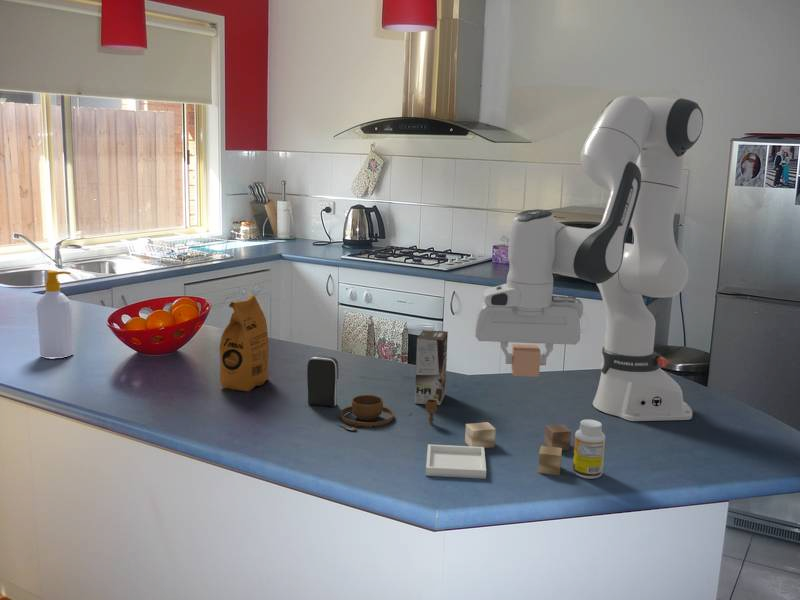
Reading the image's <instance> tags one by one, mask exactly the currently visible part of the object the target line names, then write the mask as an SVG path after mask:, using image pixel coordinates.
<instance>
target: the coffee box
mask: <svg viewBox="0 0 800 600" xmlns="http://www.w3.org/2000/svg"><path fill="white" fill-rule="evenodd" d="M448 333H449V331H445V330H444V331H443V330H424V329H423V330H422V331H421V333H420V334H418V337H417V338H416V356H415V358H416V360H415V385H414V404H419V405H420V404H421V405H426V401H427V400H429V399H434V400H437V405H439V406H441V404H442V402H443V400H444V398H445V395H446V388H447V386H446V385H447V361H448V336H449V335H448Z"/></svg>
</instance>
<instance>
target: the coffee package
mask: <svg viewBox="0 0 800 600" xmlns="http://www.w3.org/2000/svg"><path fill="white" fill-rule="evenodd" d="M228 307H229V308H231V309H232V310H233V312H232V314H231V315H230V319H229V323H228V324H227V325H226V327H225V329H224V330H223V333H222V334H221V338H220V342H219V359H220V367H219V368H220V372H219V373H220V376H219V377H220V379H219V383H220V385H221V386H222V388H223V389H230V390H233V391H235V390H236V391H240V392H250V391H251V390H253V389H254V388H255V387H257V386H259V387H260V386H263V385H264V384H265V382H266V381H267V380H269V332H268V326H267V324H268V323H267V319H266V317H265V314H264V312H263V310H262V308H261V306H260V304H259V302H258V300H257V297H256V296H255V294H250V295H248V298H247V299H246V300H239V301H238V300H237V301H231V302H230V303H229V305H228Z"/></svg>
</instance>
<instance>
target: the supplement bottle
mask: <svg viewBox="0 0 800 600" xmlns="http://www.w3.org/2000/svg"><path fill="white" fill-rule="evenodd" d="M579 422H580V425H579V429H577V430H576V431H575V435H574V447H573V460H572V461H573V463H572V471H573V473H574V474H575V475H576V476H578V477H580V478H583V479H589V480H590V479H592V480H593V479H599V478H600V477H602V475H603V472H604V470H603V469H604V460H605V459H604V458H605V448H606V447H605V446H606V435H605V433H604V432H603V431H602V430H603V428H602V427H603V424H602V422H600V421H598V420H595V419H582V420H581V421H579Z"/></svg>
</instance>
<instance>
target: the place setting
mask: <svg viewBox="0 0 800 600" xmlns="http://www.w3.org/2000/svg"><path fill="white" fill-rule="evenodd" d="M425 410H426V413H428V414H429V417H428V425H429V424H433V425H434V423H433V422H434V421H435V420H434V414H435V413H436V412H437V411H438V406H437V400H434V399H429V400H427V401H426V404H425ZM351 411H353V412H351ZM382 411H383V412H385V413H387V414H389V415H390V417H389V418H387V419H384V420H379V421H374V419H375V420H376V419H377V418H378V417H380V416H381V415H382V414H383V413H382ZM348 412H351V413H353V415H354V417H355V416H356V417H357V418H358V420H360V419H361V420H360V421H357V420H352V419H349V418H346V416H345V417H344V415H345V414H346V413H348ZM385 413H384V414H385ZM387 414H386V415H387ZM409 414H410V415H409V416H411V415H412V413H409ZM394 416H395V414H394V411H393V410H392V409H390V408H388V407H386V406H384V400H383V398H382V397H379V396H377V395H371V394H362V395H357V396H354V397H353V398H352V399H351V406H347V407H344V408H343V409H342V410H341V411H340V418H341V420H342V421H343V422H344V423H345V422H346V424H347V423H348V424H347V425H349V424H351V425H350V426H351V427H352V428H353V429H354V430H350V431H349V432H356V431H357V430H358V429H357V428H356V427H357V426H364V427H363V428H373V427H372V426H378V427H381V426H380V425H383V426H386V425H388V424H389V422H390V423H391V422H392V420H393V419H394ZM363 420H372V421H363ZM387 423H388V424H387ZM385 424H386V425H385ZM339 425H340V426H339V427H341V425H342V424H339ZM347 425H342V427H341V428H344V430H346V427H349V426H347ZM352 425H356V426H352ZM370 426H371V427H370ZM348 430H349V429H347V430H346V431H348Z"/></svg>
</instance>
